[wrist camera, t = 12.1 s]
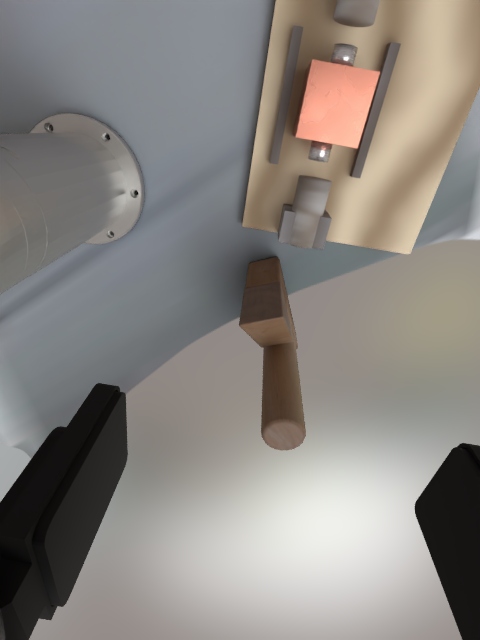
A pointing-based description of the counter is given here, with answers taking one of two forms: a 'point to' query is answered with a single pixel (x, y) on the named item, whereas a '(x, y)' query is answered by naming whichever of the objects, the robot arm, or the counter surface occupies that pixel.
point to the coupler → (334, 102)
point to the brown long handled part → (274, 353)
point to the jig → (380, 126)
